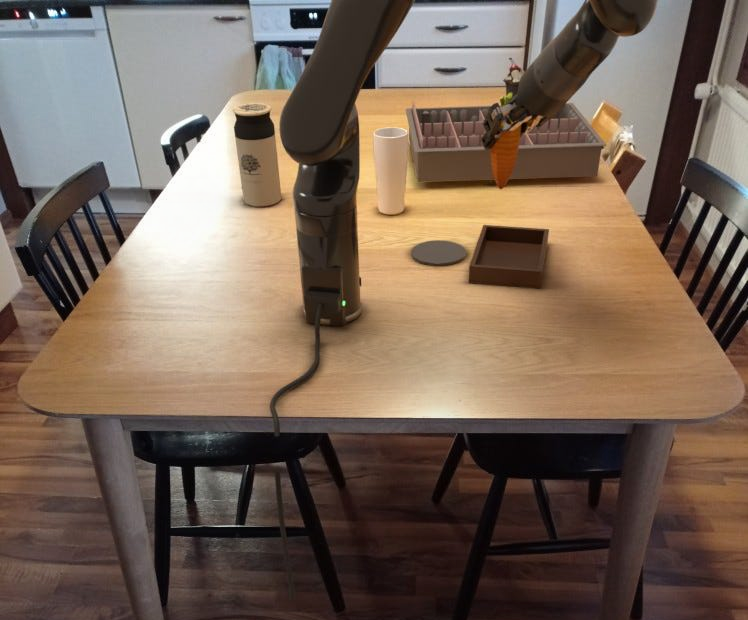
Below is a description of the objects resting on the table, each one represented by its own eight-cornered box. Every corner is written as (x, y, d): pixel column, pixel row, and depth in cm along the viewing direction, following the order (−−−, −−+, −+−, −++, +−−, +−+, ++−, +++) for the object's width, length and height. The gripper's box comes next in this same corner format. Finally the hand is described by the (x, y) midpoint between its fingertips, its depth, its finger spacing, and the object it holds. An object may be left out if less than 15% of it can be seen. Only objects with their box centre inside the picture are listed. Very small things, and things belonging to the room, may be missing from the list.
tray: (539, 288, 130) (541, 271, 128) (468, 282, 132) (469, 265, 130) (547, 245, 143) (549, 229, 141) (482, 240, 145) (483, 224, 143)
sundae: (494, 121, 202) (499, 56, 192) (516, 118, 204) (522, 53, 194) (508, 128, 197) (514, 62, 188) (530, 124, 200) (537, 58, 190)
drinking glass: (404, 217, 155) (405, 138, 145) (371, 216, 156) (369, 136, 146) (410, 205, 159) (411, 127, 150) (378, 203, 161) (376, 126, 151)
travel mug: (261, 191, 168) (250, 100, 156) (289, 198, 164) (280, 105, 152) (235, 202, 163) (222, 110, 151) (264, 210, 159) (253, 115, 148)
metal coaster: (461, 268, 137) (461, 265, 136) (406, 263, 139) (406, 261, 138) (469, 245, 144) (469, 242, 144) (416, 241, 146) (416, 238, 146)
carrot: (496, 182, 135) (504, 86, 125) (521, 187, 132) (531, 91, 122) (480, 190, 132) (487, 93, 122) (505, 196, 129) (514, 97, 119)
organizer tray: (600, 183, 166) (608, 134, 159) (414, 190, 166) (414, 141, 159) (568, 138, 190) (574, 93, 184) (405, 143, 190) (405, 99, 183)
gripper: (528, 106, 110) (471, 171, 126) (602, 91, 115) (539, 154, 131) (508, 57, 110) (453, 128, 126) (583, 44, 115) (522, 113, 131)
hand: (497, 141), depth 128 cm, fingers closed on carrot, 4 cm apart
